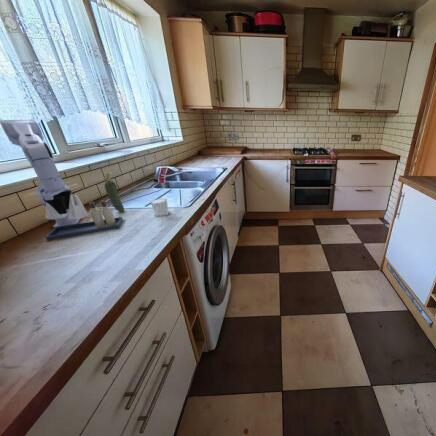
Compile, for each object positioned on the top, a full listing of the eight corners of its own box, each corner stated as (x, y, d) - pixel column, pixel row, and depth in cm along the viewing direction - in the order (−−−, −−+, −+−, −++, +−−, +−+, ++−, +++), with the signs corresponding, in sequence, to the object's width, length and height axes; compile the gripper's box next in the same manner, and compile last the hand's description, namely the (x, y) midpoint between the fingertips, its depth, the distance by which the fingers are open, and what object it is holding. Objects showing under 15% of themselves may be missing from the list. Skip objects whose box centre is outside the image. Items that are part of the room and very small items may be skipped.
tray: (57, 231, 95) (55, 227, 94) (123, 220, 104) (121, 216, 103) (47, 241, 88) (45, 237, 87) (119, 229, 97) (118, 225, 96)
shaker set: (47, 223, 87) (33, 196, 83) (53, 218, 91) (40, 192, 86) (84, 219, 91) (73, 193, 86) (89, 215, 94) (78, 189, 90)
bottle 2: (108, 224, 99) (98, 200, 94) (117, 223, 101) (108, 199, 96) (106, 227, 97) (96, 202, 92) (115, 226, 98) (106, 201, 93)
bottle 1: (97, 226, 98) (87, 201, 93) (106, 224, 99) (97, 200, 94) (95, 229, 95) (85, 204, 90) (105, 227, 97) (95, 203, 92)
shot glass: (165, 217, 107) (161, 203, 104) (151, 217, 107) (147, 203, 104) (172, 211, 113) (169, 198, 110) (159, 211, 114) (155, 198, 111)
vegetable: (119, 214, 110) (104, 174, 101) (112, 214, 111) (96, 173, 102) (127, 211, 114) (113, 171, 105) (120, 210, 114) (106, 171, 106)
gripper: (55, 181, 79) (72, 216, 85) (70, 172, 91) (84, 203, 97) (28, 184, 76) (47, 220, 82) (47, 173, 88) (63, 206, 94)
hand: (65, 211), depth 89 cm, fingers closed on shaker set, 4 cm apart
